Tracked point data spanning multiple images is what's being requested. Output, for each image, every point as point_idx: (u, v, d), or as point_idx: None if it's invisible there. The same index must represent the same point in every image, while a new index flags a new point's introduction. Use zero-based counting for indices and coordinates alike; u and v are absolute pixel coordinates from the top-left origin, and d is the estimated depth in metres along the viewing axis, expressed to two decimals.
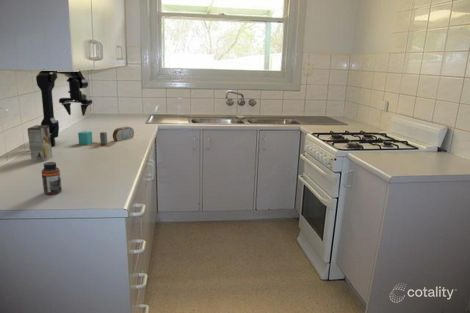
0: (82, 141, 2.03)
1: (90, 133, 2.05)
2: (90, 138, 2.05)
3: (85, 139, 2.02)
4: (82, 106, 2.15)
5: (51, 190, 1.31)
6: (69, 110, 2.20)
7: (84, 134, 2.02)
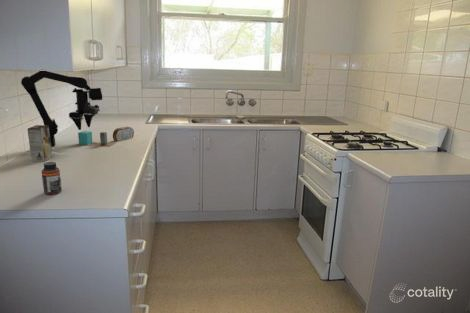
0: (82, 141, 2.03)
1: (90, 133, 2.05)
2: (90, 138, 2.05)
3: (85, 139, 2.02)
4: None
5: (51, 190, 1.31)
6: (88, 122, 2.07)
7: (84, 134, 2.02)
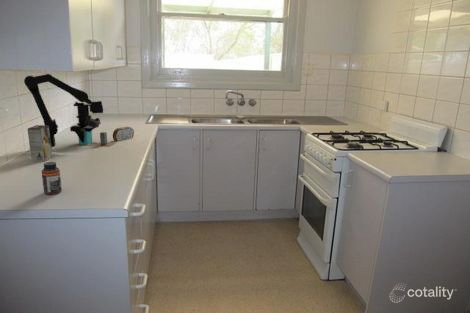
0: None
1: (90, 133, 2.05)
2: (90, 138, 2.05)
3: (85, 139, 2.02)
4: None
5: (51, 190, 1.31)
6: None
7: (84, 134, 2.02)
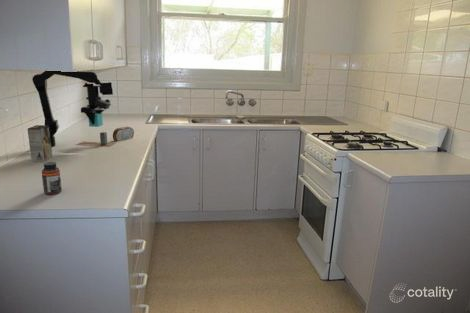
0: None
1: (100, 115, 2.02)
2: (100, 120, 2.02)
3: (95, 121, 1.99)
4: None
5: (51, 190, 1.31)
6: None
7: None
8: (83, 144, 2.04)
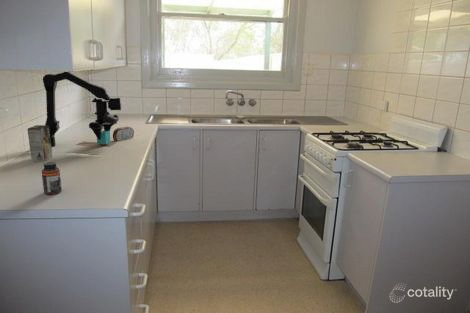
0: (100, 140, 2.01)
1: (108, 132, 2.03)
2: (108, 137, 2.04)
3: (103, 138, 2.01)
4: None
5: (51, 190, 1.31)
6: None
7: (102, 133, 2.00)
8: (83, 144, 2.04)
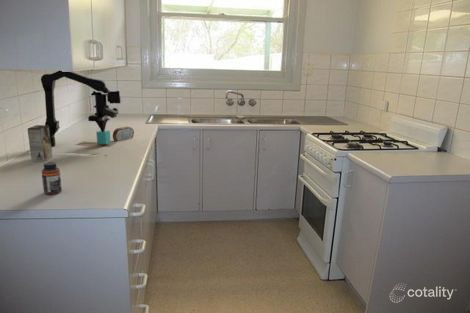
0: (100, 140, 2.01)
1: (108, 132, 2.03)
2: (108, 137, 2.04)
3: (103, 138, 2.01)
4: None
5: (51, 190, 1.31)
6: None
7: (102, 133, 2.00)
8: (83, 144, 2.04)
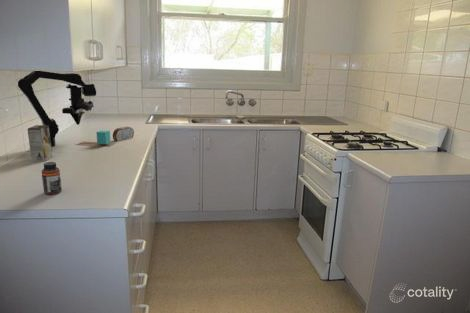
0: (100, 140, 2.01)
1: (108, 132, 2.03)
2: (108, 137, 2.04)
3: (103, 138, 2.01)
4: None
5: (51, 190, 1.31)
6: None
7: (102, 133, 2.00)
8: (83, 144, 2.04)
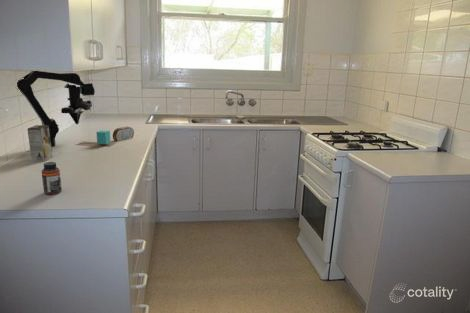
0: (100, 140, 2.01)
1: (108, 132, 2.03)
2: (108, 137, 2.04)
3: (103, 138, 2.01)
4: None
5: (51, 190, 1.31)
6: None
7: (102, 133, 2.00)
8: (83, 144, 2.04)
